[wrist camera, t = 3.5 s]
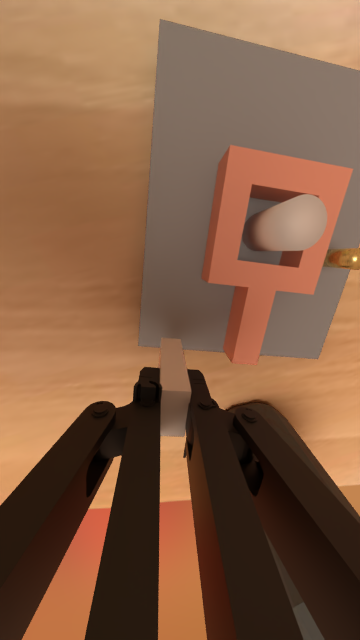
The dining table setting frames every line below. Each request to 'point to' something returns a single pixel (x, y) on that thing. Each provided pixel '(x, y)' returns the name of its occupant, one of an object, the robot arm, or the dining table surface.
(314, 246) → the square nut
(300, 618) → the bottle
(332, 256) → the gold metal capsule
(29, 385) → the dining table surface
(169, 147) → the board
